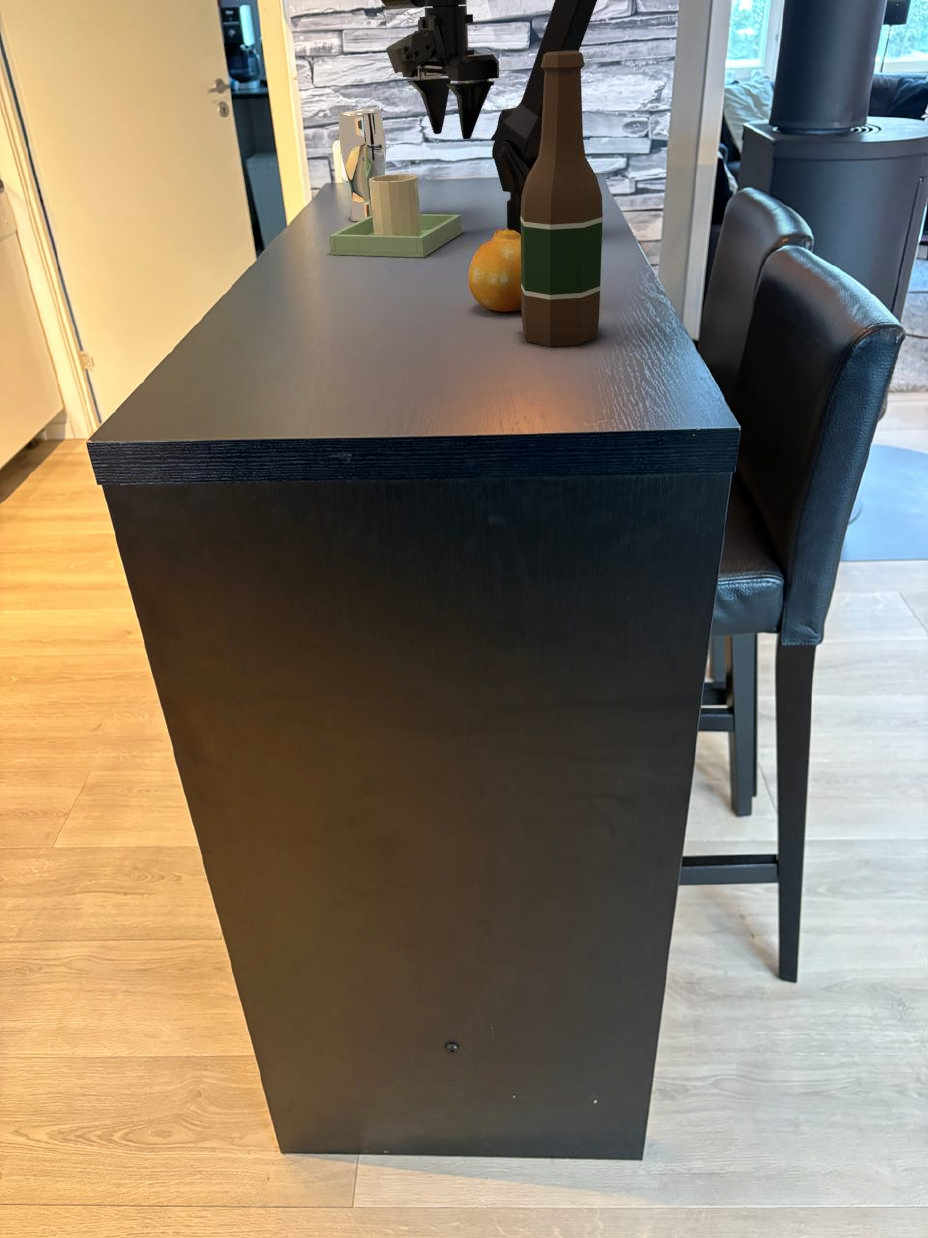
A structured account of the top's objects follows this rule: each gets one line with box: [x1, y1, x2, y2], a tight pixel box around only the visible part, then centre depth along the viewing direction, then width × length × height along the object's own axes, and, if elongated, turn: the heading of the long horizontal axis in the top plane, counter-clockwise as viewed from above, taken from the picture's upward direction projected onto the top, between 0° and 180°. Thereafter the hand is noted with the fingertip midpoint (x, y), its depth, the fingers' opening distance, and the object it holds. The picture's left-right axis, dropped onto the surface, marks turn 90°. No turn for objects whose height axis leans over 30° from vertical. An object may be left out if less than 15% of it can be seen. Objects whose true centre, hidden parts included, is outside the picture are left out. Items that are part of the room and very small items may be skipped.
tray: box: [328, 213, 463, 259], centre depth 131 cm, size 14×16×2 cm
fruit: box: [468, 227, 522, 313], centre depth 99 cm, size 8×8×8 cm
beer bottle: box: [521, 50, 604, 348], centre depth 85 cm, size 8×8×24 cm
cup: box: [369, 173, 421, 237], centre depth 129 cm, size 7×7×8 cm
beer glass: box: [337, 108, 387, 223], centre depth 144 cm, size 7×7×15 cm
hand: (451, 136), depth 134 cm, fingers open, 9 cm apart
